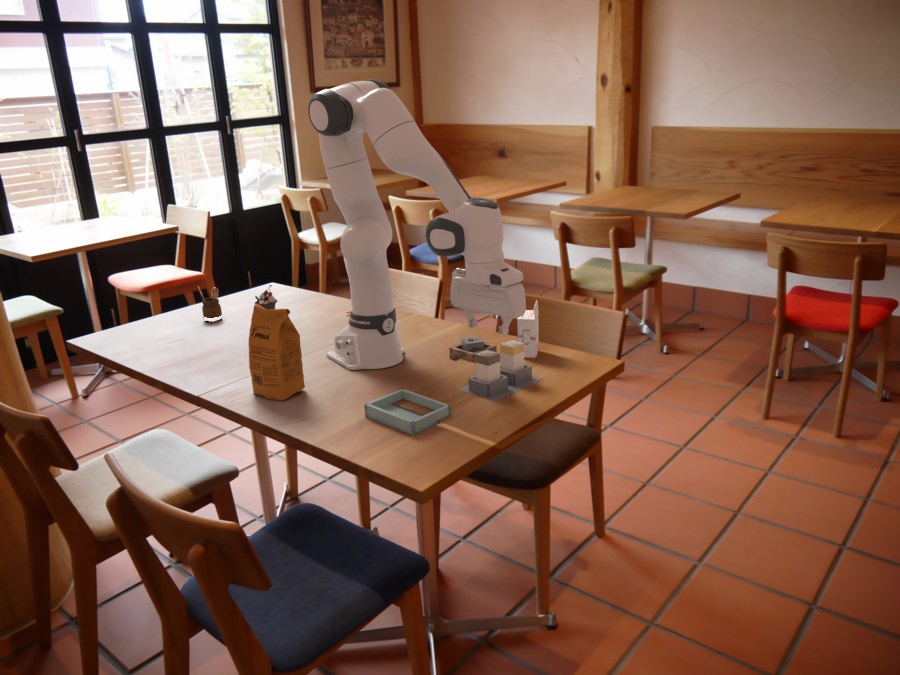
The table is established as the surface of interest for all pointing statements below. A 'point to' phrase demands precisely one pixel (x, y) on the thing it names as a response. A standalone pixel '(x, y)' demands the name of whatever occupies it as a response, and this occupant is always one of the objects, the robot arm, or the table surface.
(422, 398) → the tray
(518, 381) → the block
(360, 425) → the table surface
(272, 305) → the sundae
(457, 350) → the dice corral
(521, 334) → the ink cartridge box
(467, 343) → the dice cube
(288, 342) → the coffee package
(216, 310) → the utensil holder
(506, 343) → the block
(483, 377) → the block
